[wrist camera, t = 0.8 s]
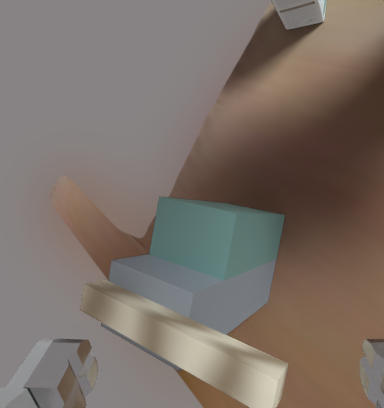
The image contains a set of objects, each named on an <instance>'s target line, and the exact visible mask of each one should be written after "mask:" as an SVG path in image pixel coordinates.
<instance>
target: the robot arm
mask: <svg viewBox="0 0 384 408" xmlns="http://www.w3.org/2000/svg"><path fill="white" fill-rule="evenodd" d="M90 350H91V345H90V343H89V341H88V340H79V339H41V340H40V341H38V342H37V343H36V345H35V346H34V347H33V349H32V350H31V352H30V353H29V355H28V356H27V358H26V359H25V361H24V362H23V363H22V365H21V366H20V368H19V369H18V371H17V372H16V374H15V375H14V377H13V378H12V380H11V381H10V383H9V384H8V386H7V387H6V388H0V408H85V407H86V401H85V396H86V395H87V394H88V393H90V392H91V391H92V389H93V387H94V385H95V382H96V378H97V372H98V365H97V360H96V358H95V357H94V356H93V355H92V354H91V353H89V352H90ZM362 350H363V352H364V354H365V356H364V357H363V358H362V359H361V360H360V367H359V370H360V377H361V382H362V385H363V388H364V391H365V393H366V396H367V398H368V399H369V400H371V401H372V402H373V403H374V404H375V405H376V408H384V339H365V340H364V342H363V346H362Z"/></svg>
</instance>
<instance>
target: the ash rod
mask: <svg viewBox="0 0 384 408" xmlns="http://www.w3.org/2000/svg"><path fill="white" fill-rule="evenodd" d="M80 310H81V311H82V312H84V313H86V314H88V315H89V316H91V317H93V318H95V319H96V320H98V321H100V322H102V323H103V324H105V325H107V326H109V327H110V328H112V329H114V330H116V331H117V332H119V333H121V334H123V335H124V336H126V337H128V338H130V339H131V340H133V341H135V342H137V343H138V344H140V345H142V346H144V347H145V348H147V349H149V350H150V351H152V352H154V353H156V354H157V355H159V356H161V357H163V358H164V359H166V360H168V361H170V362H171V363H173V364H175V365H177V366H178V367H180V368H182V369H184V370H185V371H187V372H189V373H191V374H192V375H194V376H196V377H198V378H199V379H201V380H203V381H205V382H206V383H208V384H210V385H212V386H213V387H215V388H217V389H219V390H220V391H222V392H224V393H226V394H227V395H229V396H231V397H233V398H234V399H236V400H238V401H240V402H241V403H243V404H245V405H247V406H248V407H250V408H276V407H277V406H278V404H279V402H280V400H281V397H282V392H283V388H284V383H285V378H286V373H287V368H288V363H286V362H284V361H281V360H279V359H277V358H275V357H273V356H271V355H268V354H266V353H264V352H262V351H260V350H257V349H255V348H253V347H251V346H249V345H247V344H244V343H242V342H240V341H238V340H236V339H233V338H231V337H229V336H227V335H225V334H223V333H220V332H218V331H216V330H214V329H212V328H210V327H207V326H205V325H203V324H201V323H199V322H196V321H194V320H192V319H190V318H188V317H186V316H183V315H181V314H179V313H177V312H175V311H172V310H170V309H168V308H166V307H164V306H162V305H159V304H157V303H155V302H153V301H151V300H149V299H146V298H144V297H142V296H140V295H138V294H135V293H133V292H131V291H129V290H127V289H125V288H122V287H120V286H118V285H116V284H114V283H111V282H109V281H107V280H100V281H96V282H92V283H87V284H84V288H83V294H82V301H81V307H80Z"/></svg>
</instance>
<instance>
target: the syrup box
mask: <svg viewBox="0 0 384 408" xmlns="http://www.w3.org/2000/svg"><path fill="white" fill-rule="evenodd" d="M271 1H272V3H273V5H274V7H275V9H276V11H277V13H278V14H279V17H280V18H281V20H282V22H283V24H284V26H285V28H286V29H287V30H288V29H294V28H299V27H303V26H308V25H312V24H317V23H321V22H324V17H325V10H326V1H327V0H271Z"/></svg>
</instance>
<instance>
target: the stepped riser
mask: <svg viewBox="0 0 384 408" xmlns="http://www.w3.org/2000/svg"><path fill="white" fill-rule="evenodd" d="M284 219H285V215H282V214H278V213H273V212H268V211H263V210H258V209H253V208H248V207H243V206H238V205H233V204H228V203H220V202H209V201H199V200H189V199H179V198H169V197H159V201H158V207H157V213H156V219H155V224H154V230H153V236H152V242H151V248H150V253H149V254H148V255H141V256H135V257H129V258H122V259H116V260H112V261H111V267H110V273H109V279H108V281H109V282H111V283H114V284H116V285H118V286H120V287H122V288H125V289H127V290H129V291H131V292H133V293H135V294H138V295H140V296H142V297H144V298H146V299H149V300H151V301H153V302H155V303H157V304H159V305H162V306H164V307H166V308H168V309H170V310H172V311H175V312H177V313H179V314H181V315H183V316H186V317H188V318H190V319H192V320H194V321H196V322H199V323H201V324H203V325H205V326H207V327H210V328H212V329H214V330H216V331H218V332H220V333H223V334H225V335H226V334H228V333H229V332H230V331H231V330H233V329H234V328H235V327H237V326H238V325H239V324H240V323H242V322H243V321H244V320H246V319H247V318H248V317H249V316H251V315H252V314H253V313H255V312H256V311H257V310H258V309H260V308H261V307H262V306H264V305H265V304H266V303H267V302H268V299H269V294H270V289H271V284H272V279H273V274H274V269H275V264H276V259H277V254H278V249H279V244H280V239H281V234H282V229H283V224H284ZM101 326H102V327H104V328H106V329H107V330H109V331H111V332H113V333H114V334H116V335H118V336H120V337H121V338H123V339H125V340H126V341H128V342H130V343H132V344H133V345H135V346H137V347H138V348H140V349H142V350H143V351H145V352H147V353H149V354H150V355H152V356H154V357H156V358H157V359H159V360H161V361H163V362H164V363H166V364H168V365H169V366H171V367H173V368H174V369H176V370H178V371H180V370H181V369H182V368H180V367H178V366H177V365H175V364H173V363H171V362H170V361H168V360H166V359H164V358H163V357H161V356H159V355H157V354H156V353H154V352H152V351H150V350H149V349H147V348H145V347H144V346H142V345H140V344H138V343H137V342H135V341H133V340H131V339H130V338H128V337H126V336H124V335H123V334H121V333H119V332H117V331H116V330H114V329H112V328H110V327H109V326H107V325H105V324H103V323H102V322H101Z"/></svg>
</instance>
